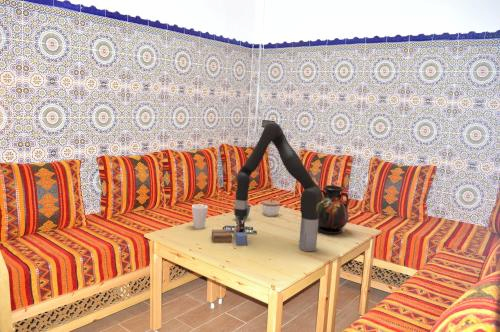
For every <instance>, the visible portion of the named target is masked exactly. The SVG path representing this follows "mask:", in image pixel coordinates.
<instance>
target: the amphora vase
mask: <svg viewBox="0 0 500 332" xmlns="http://www.w3.org/2000/svg"><path fill="white" fill-rule="evenodd" d="M320 190H321V192H322V194H323V199H322V201H321V202H320V203H318V204H317V205H316V211H317V212H318V213H319V221H318V232H319V233H321V234H324V235H329V236H330V235H331V236H336V235H337V236H338V235H341V234H343V232H344V227H346V225H347V224H348V222H349V218H350V214H349V209H348V207H349V195H348V193H346V192H344V190H345V187H342V186H338V185H330V184H329V185H328V184H327V185H323V186H322V189H320ZM342 196H345V197H346V201H345V202H344V200H343V199H342Z"/></svg>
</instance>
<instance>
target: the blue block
mask: <svg viewBox="0 0 500 332" xmlns="http://www.w3.org/2000/svg"><path fill="white" fill-rule="evenodd" d="M234 238H235V237H234ZM234 241H235V245H236V246H247V245H248V234H247V232H236V238H235V240H234Z"/></svg>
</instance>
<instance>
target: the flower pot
mask: <svg viewBox="0 0 500 332" xmlns="http://www.w3.org/2000/svg"><path fill="white" fill-rule="evenodd" d="M234 208H235V206H233V209H234ZM250 212H251V205H250V204H248V212H247V216H244V217H243V218H244V220H245V221H246V220H247V219H248V217H249V215H250ZM235 218H237V216H235Z"/></svg>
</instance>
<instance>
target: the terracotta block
mask: <svg viewBox="0 0 500 332" xmlns="http://www.w3.org/2000/svg"><path fill="white" fill-rule="evenodd" d="M233 228H234V230H233V235H234V238H236V232H239V227H238V226H237V225H234V227H233ZM241 229H242V227H241ZM243 232H246V227H245V226H244V231H243ZM246 233H247V232H246Z"/></svg>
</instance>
